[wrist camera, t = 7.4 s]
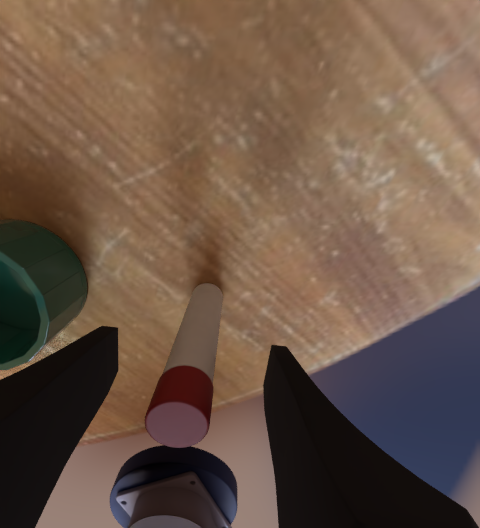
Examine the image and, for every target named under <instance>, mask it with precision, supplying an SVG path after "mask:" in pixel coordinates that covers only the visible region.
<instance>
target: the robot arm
mask: <svg viewBox="0 0 480 528" xmlns="http://www.w3.org/2000/svg"><path fill="white" fill-rule="evenodd" d="M117 372H118V328H116V327H107V326H101V327H99V328H97V329H95V330H94V331H92V332H90V333H88V334H87V335H85V336H83V337H81V338H80V339H78V340H76V341H74V342H73V343H71V344H69V345H67V346H66V347H64V348H62V349H60V350H59V351H57V352H55V353H53V354H51V355H50V356H48V357H46V358H44V359H42V360H40V361H38V362H36V363H34V364H32V365H30V366H28V367H27V368H25V369H23V370H21V371H19V372H17V373H14V374H12V375H10V376H8V377H6V378H4V379H1V380H0V528H35V526H36V524H37V522H38V520H39V518H40V516H41V514H42V512H43V509H44V507H45V505H46V503H47V501H48V499H49V497H50V495H51V493H52V491H53V489H54V487H55V485H56V483H57V481H58V479H59V476H60V474H61V473H62V471H63V469H64V466H65V465H66V463H67V461H68V460H69V458H70V456H71V454H72V452H73V451H74V449H75V447H76V446H77V444H78V443H79V441H80V439H81V438H82V436H83V434H84V433H85V431H86V429H87V428H88V426H89V424H90V423H91V421H92V420H93V418H94V416H95V415H96V413H97V411H98V410H99V408H100V406H101V405H102V403H103V401H104V399H105V398H106V396H107V394H108V392H109V390H110V388H111V386H112V384H113V381H114V379H115V377H116V374H117ZM263 388H264V409H265V417H266V423H267V430H268V436H269V442H270V449H271V455H272V461H273V466H274V474H275V483H276V495H277V507H278V523H279V528H479V527H478V526H477V524H476V522H475V521H474V519H473V518H472V516H471V515H470V514H469V512H468V511H467V510H466V509H465V508H464V507H462V506H461V505H459V504H458V503H456V502H455V501H453V500H452V499H450V498H449V497H447V496H446V495H444V494H443V493H441V492H440V491H438V490H437V489H435V488H433V487H432V486H430V485H429V484H427V483H426V482H424V481H423V480H422V479H420V478H419V477H417V476H416V475H415V474H413V473H412V472H411V471H409V470H408V469H406V468H405V467H404V466H402V465H401V464H400V463H398V462H397V461H396V460H394V459H393V458H392V457H391V456H389V455H388V454H387V453H385V452H384V451H383V450H382V449H381V448H379V447H378V446H377V445H376V444H375V443H373V442H372V441H371V440H370V439H369V438H367V437H366V436H365V435H364V434H363V433H362V432H360V431H359V430H358V429H357V428H356V427H355V426H354V425H353V424H352V423H351V422H350V421H349V420H348V419H347V418H346V417H345V416H344V415H343V414H342V413H341V412H340V411H339V410H338V409H337V408H336V407H335V406H334V405H333V404H332V403H331V402H330V401H329V400H328V399H327V397H326V396H325V395H324V394H323V393H322V392H321V391H320V390H319V389H318V387H317V386H316V385H315V384H314V382H313V381H312V380H311V379H310V377H309V376H308V375H307V373H306V372H305V371H304V370H303V368H302V367H301V366H300V364H299V363H298V361H297V360H296V359H295V357H294V356H293V355H292V353H291V352H290V351H289V349H288V348H287V347H286V346H277V345H272V346H271V350H270V355H269V360H268V365H267V370H266V375H265V380H264V385H263ZM116 500H117V502H118V503H119V504H120V505H121V506H122V507H123V509H124V510H125V511H126V512H127V513H128V515H129V516H130V517H131V520H130V523H129V526H128V528H232V527H231V525H230V524H229V522H228V521H227V519H226V518H225V516H224V515H223V513H222V512H221V510H220V509H219V507H218V506H217V504H216V503H215V501H214V500H213V498H212V497H211V495H210V494H209V492H208V491H207V489H206V488H205V487H204V485H203V484H202V482H201V481H200V479H199V478H198V476H197V475H196V473H195V472H193V471H188V472H185V473H182V474H178V475H175V476H172V477H168V478H165V479H161V480H158V481H155V482H151V483H148V484H145V485H141V486H138V487H134V488H131V489H128V490H124V491H121V492H119V493H118V494H117V496H116Z"/></svg>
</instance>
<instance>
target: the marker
mask: <svg viewBox="0 0 480 528" xmlns="http://www.w3.org/2000/svg"><path fill="white" fill-rule="evenodd" d="M222 302H223V294H222V292H221V290H220V289H219V288H218V287H217V286H216V285H214V284H210V283H203V284H200V285H198V286H197V287H196V288H195V289H194V290H193V293H192V295H191V298H190V301H189V304H188V306H187V309H186V312H185V314H184V317H183V320H182V323H181V325H180V328H179V331H178V333H177V336H176V339H175V342H174V344H173V347H172V350H171V352H170V355H169V358H168V361H167V363H166V366H165V369H164V372H163V374H162V376H161V377H160V379H159V381H158V383H157V386H156V389H155V391H154V394H153V397H152V399H151V402H150V405H149V407H148V410H147V413H146V416H145V426H146V430H147V432H148V433H149V434H150V436H151V437H152V438H153V439H154V440H156V441H157V442H159V443H161V444H163V445H165V446H169V447H174V448H184V447H189V446H192V445H194V444H196V443H198V442H200V441H201V440H202V439H203V438H204V437H205V435H206V434H207V432H208V429H209V424H210V416H211V407H212V398H213V377H214V369H215V361H216V352H217V344H218V336H219V327H220V319H221V310H222Z"/></svg>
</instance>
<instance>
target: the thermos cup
mask: <svg viewBox="0 0 480 528" xmlns="http://www.w3.org/2000/svg"><path fill="white" fill-rule="evenodd" d="M86 297H87V280H86V276H85V272H84V269H83V267H82V265H81V263H80V261H79V259H78V257H77V256H76V255H75V253H74V252H73V250H72V249H71V248H70V247H69V246H68V245H67V244H66V243H65V242H64V241H63V240H62V239H61V238H59V237H58V236H57V235H55V234H54V233H52V232H51V231H49V230H47V229H45V228H43V227H41V226H39V225H37V224H33V223H30V222H27V221H22V220H14V219H5V220H0V370H8V369H11V368H13V367H16V366H19V365H21V364H24V363H27V362H29V361H31V360H32V359H33V358H34V357H35V356H36V355H37V354H38V353H39V352H40V351H41V350H43V349H44V348H45V347H46V346H47V345H48V344H49V343H50V342H51V341H52V340H53V339H54V338H55V337H57V336H58V335H59V334H60V333H61V332H62V331H63V330H64V329H65V328H66V327H67V326H68V325H69V324H70V323H71V322H72V321H73V320H74V319H75V318H76V317H77V316H78V315H79V313H80V312H81V310H82V308H83V307H84V304H85V301H86Z"/></svg>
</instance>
